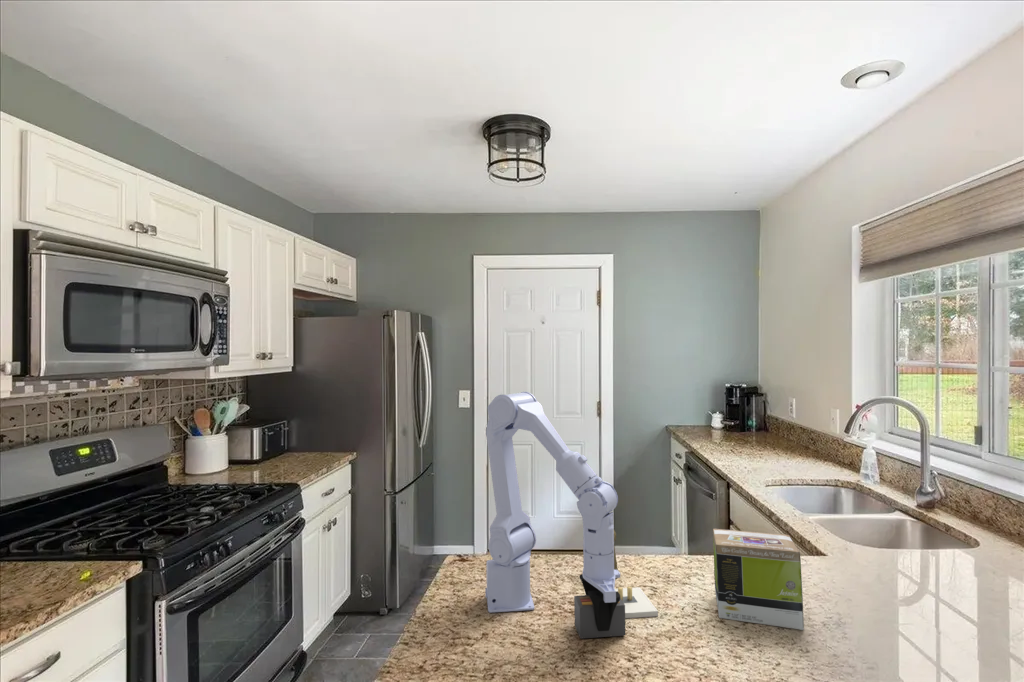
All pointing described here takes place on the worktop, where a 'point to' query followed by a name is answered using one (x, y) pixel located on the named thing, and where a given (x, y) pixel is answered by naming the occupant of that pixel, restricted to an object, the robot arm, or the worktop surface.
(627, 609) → the header board
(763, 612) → the tea box
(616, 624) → the block
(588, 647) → the worktop surface
